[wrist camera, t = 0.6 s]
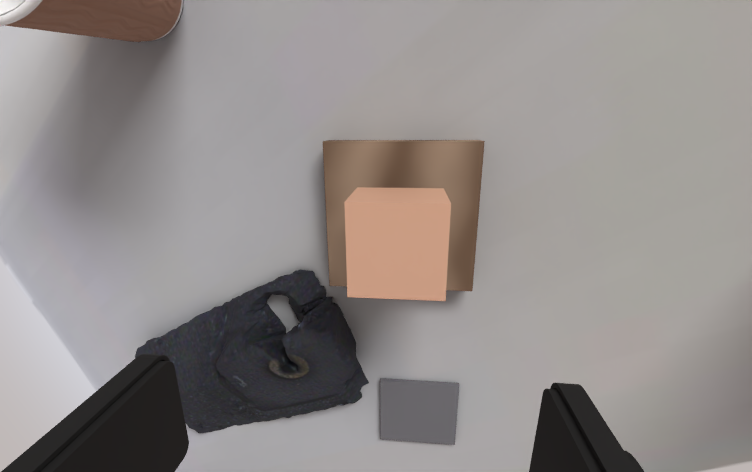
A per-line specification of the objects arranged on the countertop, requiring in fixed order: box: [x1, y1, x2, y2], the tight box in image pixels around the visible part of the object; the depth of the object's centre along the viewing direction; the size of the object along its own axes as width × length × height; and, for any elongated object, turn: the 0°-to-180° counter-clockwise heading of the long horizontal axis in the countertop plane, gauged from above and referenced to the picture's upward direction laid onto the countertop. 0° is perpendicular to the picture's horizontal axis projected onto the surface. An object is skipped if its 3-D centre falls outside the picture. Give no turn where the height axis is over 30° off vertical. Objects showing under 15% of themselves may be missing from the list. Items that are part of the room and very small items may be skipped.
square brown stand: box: [323, 140, 484, 291], centre depth 26 cm, size 12×12×9 cm
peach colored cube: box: [344, 187, 451, 301], centre depth 23 cm, size 6×6×5 cm
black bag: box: [135, 270, 369, 433], centre depth 35 cm, size 15×22×5 cm
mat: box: [380, 378, 459, 445], centre depth 36 cm, size 8×7×1 cm
